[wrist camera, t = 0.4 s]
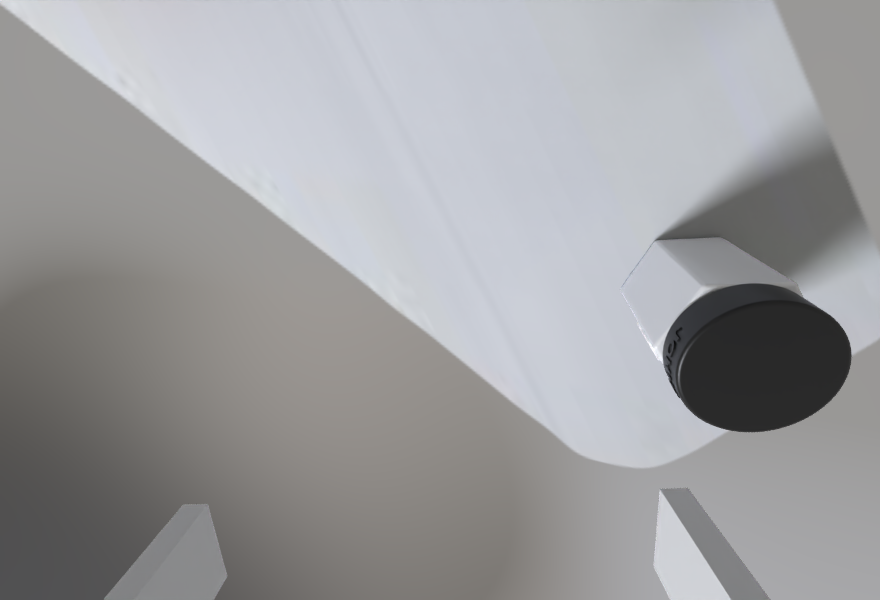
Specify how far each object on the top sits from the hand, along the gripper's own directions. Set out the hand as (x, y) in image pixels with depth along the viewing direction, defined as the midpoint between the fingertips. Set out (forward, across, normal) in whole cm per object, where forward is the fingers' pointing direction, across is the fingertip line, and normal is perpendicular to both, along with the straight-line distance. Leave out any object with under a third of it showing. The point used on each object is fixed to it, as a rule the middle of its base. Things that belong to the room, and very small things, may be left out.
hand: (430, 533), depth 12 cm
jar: (+23, +18, 0) cm, 29 cm away
